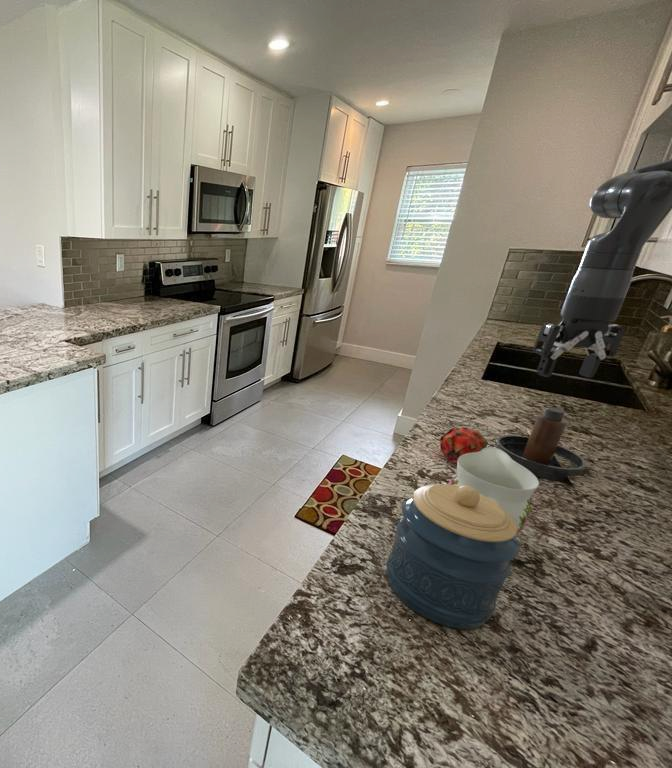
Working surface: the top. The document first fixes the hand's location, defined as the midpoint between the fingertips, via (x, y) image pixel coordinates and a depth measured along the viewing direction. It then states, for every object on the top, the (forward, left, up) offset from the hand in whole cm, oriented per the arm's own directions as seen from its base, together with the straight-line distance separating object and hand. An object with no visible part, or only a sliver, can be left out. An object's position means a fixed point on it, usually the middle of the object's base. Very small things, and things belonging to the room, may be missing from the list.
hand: (564, 376), depth 81 cm
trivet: (-10, -21, -23) cm, 33 cm away
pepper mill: (-2, -6, -22) cm, 23 cm away
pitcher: (+13, +32, -23) cm, 41 cm away
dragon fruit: (+13, +2, -23) cm, 26 cm away
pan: (-2, -6, -23) cm, 24 cm away
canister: (+19, +48, -23) cm, 56 cm away
